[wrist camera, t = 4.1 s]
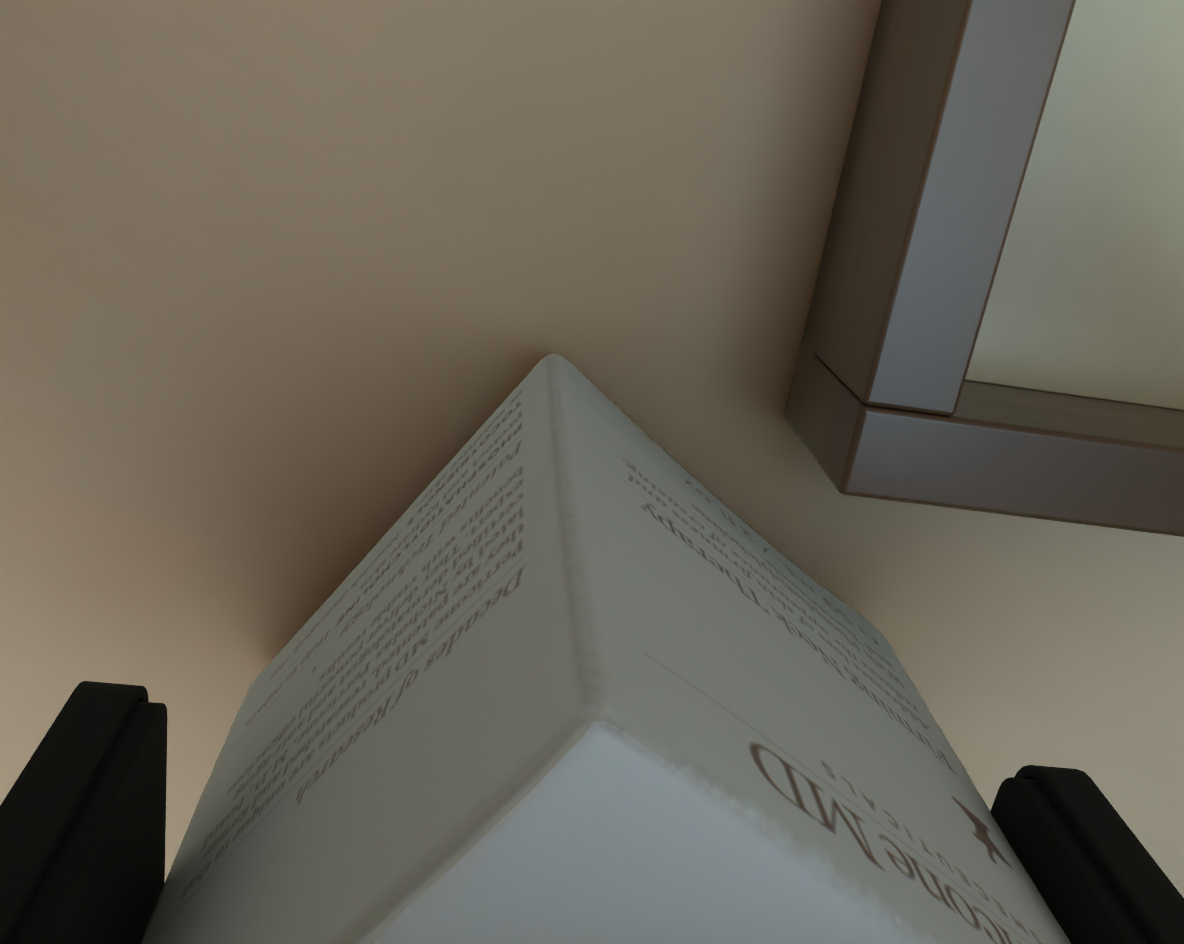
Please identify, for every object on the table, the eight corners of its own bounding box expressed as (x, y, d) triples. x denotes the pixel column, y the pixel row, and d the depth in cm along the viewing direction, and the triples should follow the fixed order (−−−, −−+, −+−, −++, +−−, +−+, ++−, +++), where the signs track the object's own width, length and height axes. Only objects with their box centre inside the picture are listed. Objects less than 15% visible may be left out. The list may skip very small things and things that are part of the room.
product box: (894, 631, 14) (1237, 1171, 8) (584, 907, 16) (642, 1567, 9) (549, 332, 12) (599, 703, 6) (232, 678, 14) (-25, 1297, 7)
